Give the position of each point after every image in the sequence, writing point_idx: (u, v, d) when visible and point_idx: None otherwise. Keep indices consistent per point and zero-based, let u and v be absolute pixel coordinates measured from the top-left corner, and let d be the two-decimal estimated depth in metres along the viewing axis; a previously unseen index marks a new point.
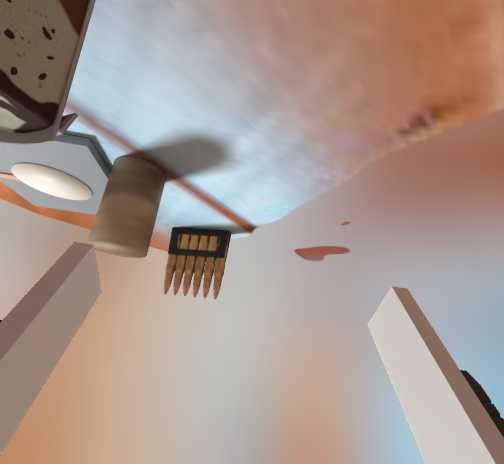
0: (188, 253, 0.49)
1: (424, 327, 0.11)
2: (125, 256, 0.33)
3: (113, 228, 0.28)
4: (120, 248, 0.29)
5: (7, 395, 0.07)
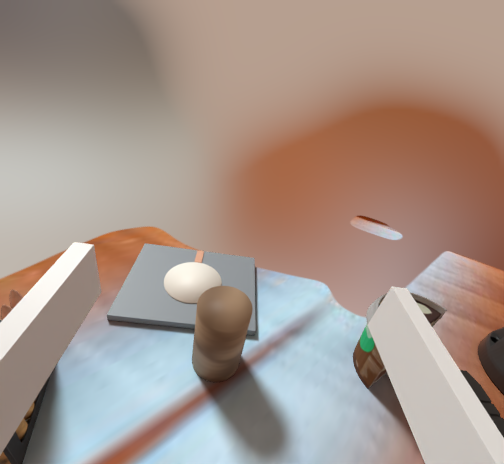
0: None
1: (424, 327, 0.11)
2: (199, 303, 0.30)
3: None
4: (231, 310, 0.30)
5: (7, 395, 0.07)
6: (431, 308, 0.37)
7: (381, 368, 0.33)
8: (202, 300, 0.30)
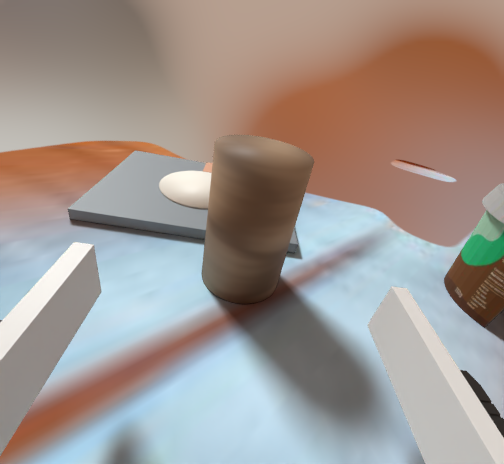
0: None
1: (424, 327, 0.11)
2: (217, 142, 0.16)
3: None
4: (276, 154, 0.16)
5: (7, 395, 0.07)
6: None
7: None
8: (223, 141, 0.17)
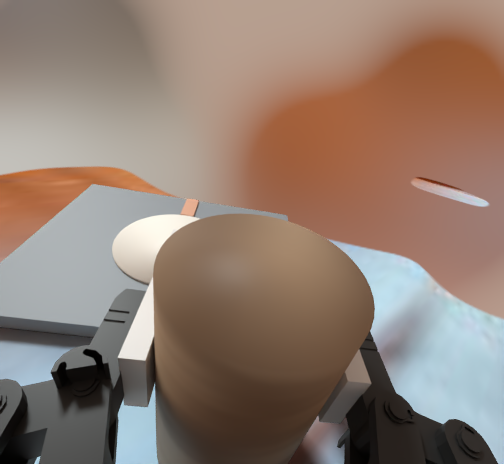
0: None
1: None
2: (163, 256, 0.07)
3: None
4: (292, 281, 0.07)
5: None
6: None
7: None
8: (178, 248, 0.08)
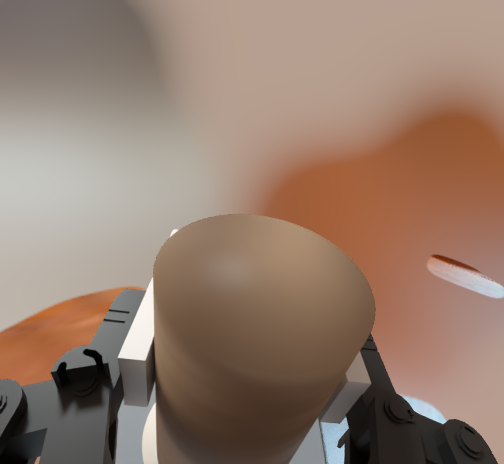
0: None
1: None
2: (163, 257, 0.07)
3: None
4: (293, 282, 0.07)
5: None
6: None
7: None
8: (178, 249, 0.08)
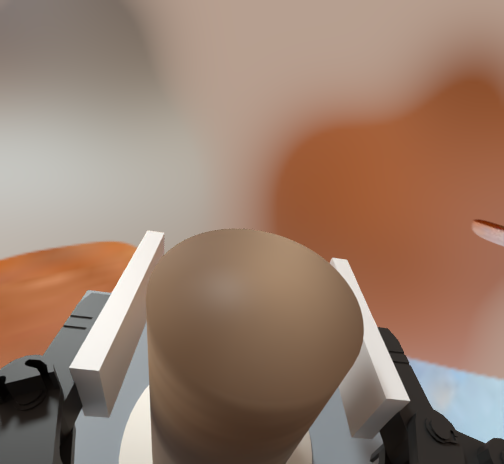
0: None
1: (353, 290, 0.12)
2: (156, 278, 0.08)
3: None
4: (283, 303, 0.08)
5: (121, 353, 0.09)
6: None
7: None
8: (171, 268, 0.08)
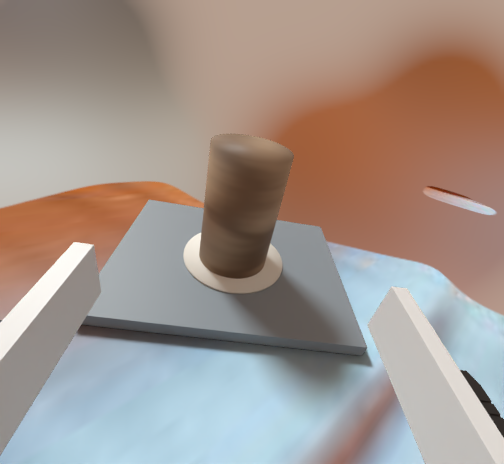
0: None
1: (424, 327, 0.11)
2: (213, 140, 0.19)
3: None
4: (262, 150, 0.20)
5: (7, 395, 0.07)
6: None
7: None
8: (218, 139, 0.20)
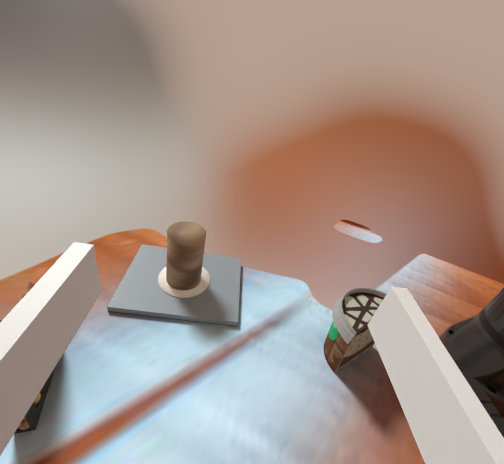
0: None
1: (424, 327, 0.11)
2: (168, 229, 0.44)
3: (204, 241, 0.45)
4: (190, 234, 0.44)
5: (7, 395, 0.07)
6: None
7: (343, 353, 0.38)
8: (171, 228, 0.44)
